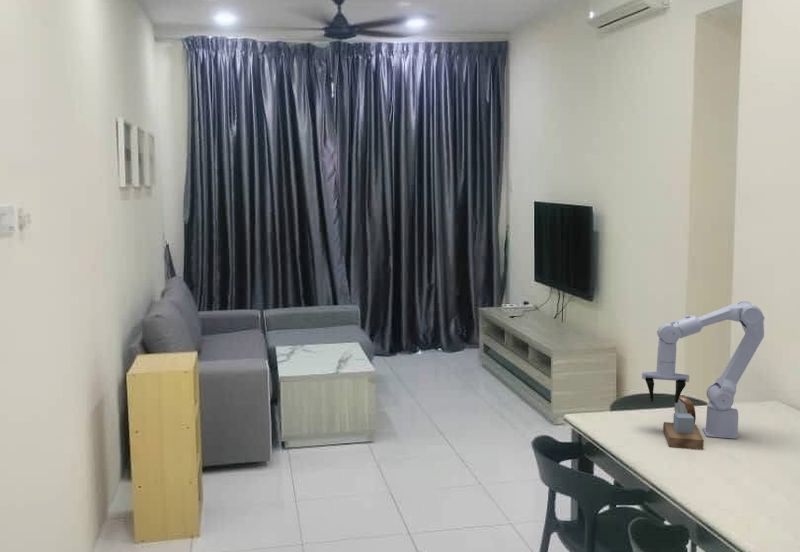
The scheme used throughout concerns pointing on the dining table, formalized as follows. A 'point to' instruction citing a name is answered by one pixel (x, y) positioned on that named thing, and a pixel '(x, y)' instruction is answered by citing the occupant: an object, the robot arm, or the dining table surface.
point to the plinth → (682, 437)
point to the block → (683, 423)
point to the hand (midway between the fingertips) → (663, 401)
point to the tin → (685, 406)
